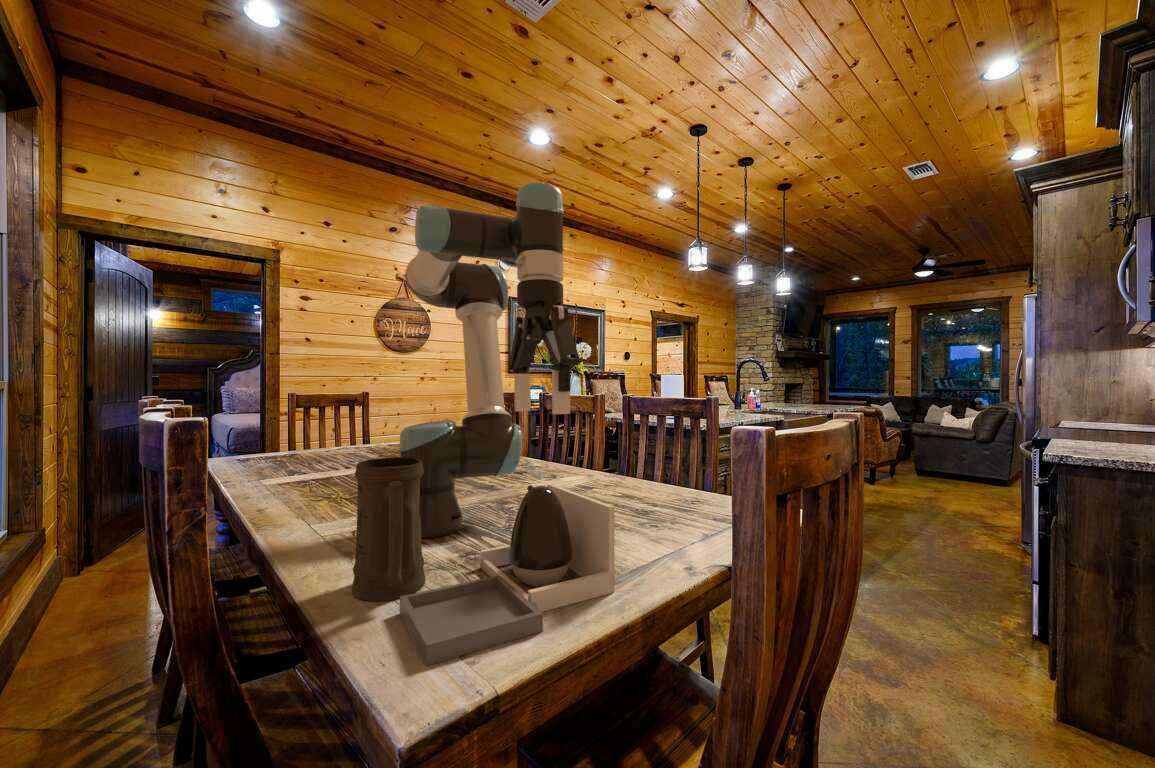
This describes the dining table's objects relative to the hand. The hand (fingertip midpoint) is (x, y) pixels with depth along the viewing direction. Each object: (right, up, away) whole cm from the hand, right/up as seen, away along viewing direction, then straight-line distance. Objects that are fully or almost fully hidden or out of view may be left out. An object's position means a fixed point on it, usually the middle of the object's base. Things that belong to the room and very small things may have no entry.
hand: (540, 412), depth 78 cm
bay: (0, -27, 0) cm, 27 cm away
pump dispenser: (0, -27, 0) cm, 27 cm away
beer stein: (-22, -27, -5) cm, 35 cm away
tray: (-8, -27, -14) cm, 32 cm away
